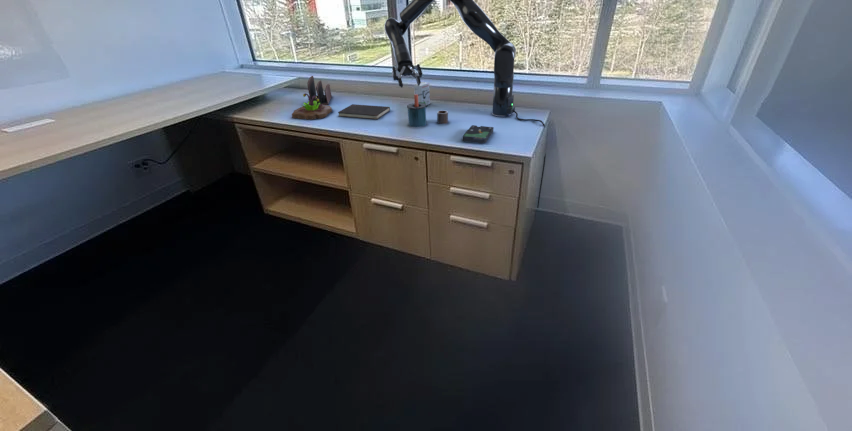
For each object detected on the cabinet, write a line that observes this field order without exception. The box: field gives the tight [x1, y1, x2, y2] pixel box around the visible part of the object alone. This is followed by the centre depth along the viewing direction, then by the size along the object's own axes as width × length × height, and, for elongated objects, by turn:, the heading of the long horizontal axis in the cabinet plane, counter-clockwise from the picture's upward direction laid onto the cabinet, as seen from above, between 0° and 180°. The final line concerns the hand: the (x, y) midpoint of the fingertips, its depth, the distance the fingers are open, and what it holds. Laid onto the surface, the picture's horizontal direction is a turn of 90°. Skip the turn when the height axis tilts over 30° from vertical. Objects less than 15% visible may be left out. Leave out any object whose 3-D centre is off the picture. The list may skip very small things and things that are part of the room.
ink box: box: [413, 81, 431, 106], centre depth 209 cm, size 9×5×12 cm, turn 147°
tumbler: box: [407, 105, 427, 128], centre depth 182 cm, size 9×9×9 cm
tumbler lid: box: [406, 102, 427, 109], centre depth 179 cm, size 9×9×1 cm
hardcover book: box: [337, 103, 391, 121], centre depth 203 cm, size 16×23×2 cm
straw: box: [413, 93, 419, 107], centre depth 180 cm, size 2×2×14 cm
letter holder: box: [307, 75, 333, 106], centre depth 224 cm, size 10×20×14 cm, turn 6°
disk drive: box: [461, 124, 495, 144], centre depth 166 cm, size 10×3×15 cm
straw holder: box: [436, 110, 449, 125], centre depth 183 cm, size 5×5×6 cm
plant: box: [291, 93, 333, 121], centre depth 203 cm, size 20×20×11 cm
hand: (410, 85), depth 181 cm, fingers open, 8 cm apart
